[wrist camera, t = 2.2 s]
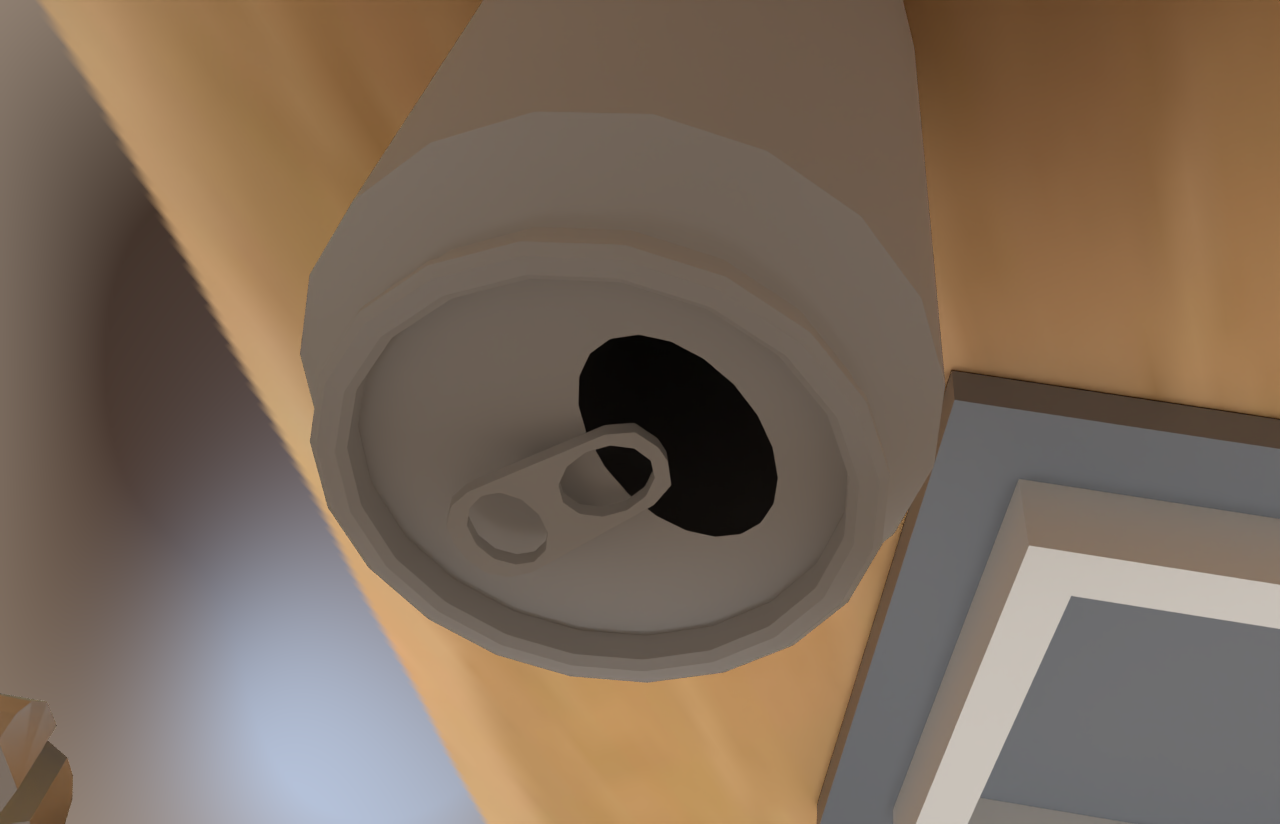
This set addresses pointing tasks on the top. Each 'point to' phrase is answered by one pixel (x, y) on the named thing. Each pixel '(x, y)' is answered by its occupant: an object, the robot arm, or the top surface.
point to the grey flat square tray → (1074, 621)
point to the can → (636, 330)
